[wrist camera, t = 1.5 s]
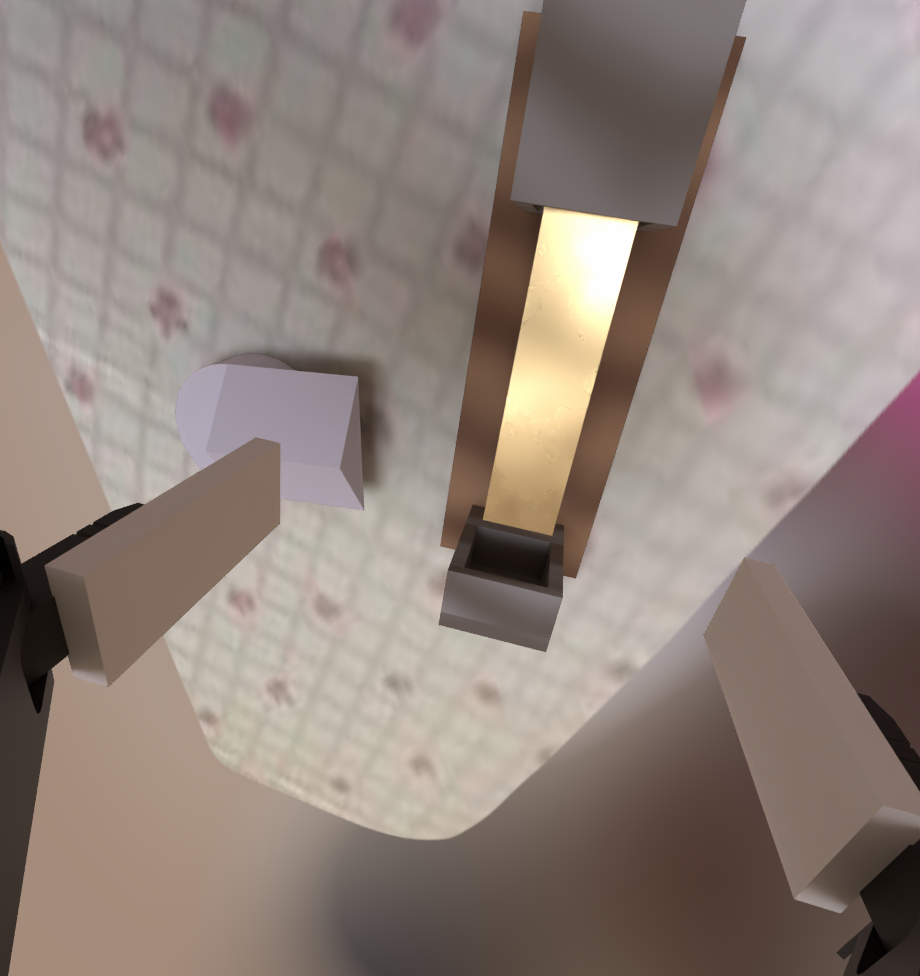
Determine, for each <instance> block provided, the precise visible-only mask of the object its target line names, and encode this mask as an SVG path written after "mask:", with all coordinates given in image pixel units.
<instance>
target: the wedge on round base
mask: <svg viewBox="0 0 920 976" xmlns="http://www.w3.org/2000/svg"><path fill="white" fill-rule="evenodd" d="M175 414H176V423H177V428H178V432H179V435H180V438H181V440H182V442H183V444H184V447H185V448H186V450H187V452H188V453H189V455H190V456H191V458H192V459H193V460H194V462H195V463H196V464H197V465H198V466H199V468H200V469H201V470H203V469H204V468H206V467H208V466H209V465H211V464H212V463H214V462H216V461H217V460H219V459H221V458H222V457H224V456H226V455H227V454H229V453H231V452H232V451H234V450H236V449H237V448H239V447H240V446H242V445H244V444H245V443H247V442H249V441H250V440H252V439H254V438H255V437H258V438H262V439H266V440H270V441H274V442H278V443H280V499H286V500H293V501H301V502H308V503H315V504H322V505H329V506H337V507H344V508H351V509H358V510H364V496H363V473H362V451H361V428H360V406H359V383H358V377H356V376H346V375H336V374H325V373H315V372H304V371H295V370H294V369H292V368H291V367H290V366H288V365H287V364H285V363H283V362H282V361H279V360H277V359H275V358H273V357H269V356H266V355H261V354H243V355H239V356H236V357H233V358H230V359H227V360H224V361H221V362H218V363H215V364H212V365H208V366H205V367H202V368H200V369H199V370H197V371H195V372H194V373H192V374H191V375H190V376H189V377H188V378H187V379H186V380H185V382H184V383H183V385H182V386H181V388H180V391H179V393H178V396H177V401H176V410H175Z"/></svg>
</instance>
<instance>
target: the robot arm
mask: <svg viewBox="0 0 920 976" xmlns="http://www.w3.org/2000/svg"><path fill="white" fill-rule="evenodd" d="M279 524H280V443H278V442H274V441H270V440H266V439H262V438H258V437H255V438H254V439H252V440H250V441H249V442H247V443H245V444H244V445H242V446H240V447H239V448H237V449H236V450H234V451H232V452H231V453H229V454H227V455H226V456H224V457H222V458H221V459H219V460H217V461H216V462H214V463H212V464H211V465H209V466H208V467H206V468H204V469H203V470H201V471H199V472H198V473H196V474H194V475H193V476H191V477H189V478H188V479H186V480H184V481H183V482H181V483H180V484H178V485H176V486H175V487H173V488H171V489H170V490H168V491H166V492H165V493H163V494H161V495H160V496H158V497H156V498H155V499H153V500H151V501H150V502H148V503H147V504H141V503H136V504H133V505H130V506H127V507H123V508H120V509H117V510H114V511H112V512H110V513H108V514H107V515H105V516H103V517H102V518H100V519H98V520H96V521H95V522H94V523H93V525H88V526H86V527H84V528H83V529H81V530H79V531H77V534H76V535H74V534H72V535H70V536H69V537H67V538H65V539H64V540H62V541H60V542H58V543H57V544H55V545H53V546H51V547H50V548H48V549H46V550H45V551H43V552H41V553H39V554H38V555H36V556H35V557H32V558H31V559H29V560H27V561H26V562H24V563H22V564H21V561H20V558H19V554H18V551H17V547H16V544H15V540H14V537H13V536H12V535H10V534H9V533H7V532H6V531H2V530H0V976H8V973H9V966H10V960H11V953H12V947H13V941H14V940H13V939H14V934H15V928H16V921H17V915H18V909H19V902H20V896H21V890H22V883H23V877H24V870H25V864H26V857H27V851H28V845H29V838H30V832H31V826H32V819H33V813H34V807H35V800H36V794H37V787H38V781H39V774H40V768H41V762H42V756H43V749H44V743H45V736H46V730H47V723H48V717H49V711H50V704H51V698H52V692H53V685H54V678H53V673H52V668H53V667H54V666H55V665H57V664H58V663H59V662H60V661H61V660H63V659H64V658H65V657H66V656H67V655H68V658H69V662H70V665H71V669H72V673H73V677H76V678H79V679H82V680H85V681H89V682H92V683H95V684H99V685H102V686H105V687H109V686H110V685H111V684H112V683H113V682H114V681H115V680H116V679H118V677H120V676H121V674H123V673H124V672H125V671H126V670H127V669H128V668H129V667H130V666H131V665H132V664H133V663H134V662H135V661H136V660H137V659H138V658H140V657H141V656H142V655H143V654H144V653H145V652H146V651H147V650H148V649H149V648H150V647H151V646H152V645H153V644H154V643H155V642H156V641H157V640H158V639H159V638H160V637H162V636H163V635H164V634H165V633H166V632H167V631H168V630H169V629H170V628H171V627H172V626H173V625H174V624H175V623H176V622H177V621H178V620H179V619H180V618H181V617H182V616H184V615H185V614H186V613H187V612H188V611H189V610H190V609H191V608H192V607H193V606H194V605H195V604H196V603H197V602H198V601H199V600H200V599H201V598H202V597H203V596H204V595H205V594H207V593H208V592H209V591H210V590H211V589H212V588H213V587H214V586H215V585H216V584H217V583H218V582H219V581H220V580H221V579H222V578H223V577H224V576H225V575H226V574H227V573H229V572H230V571H231V570H232V569H233V568H234V567H235V566H236V565H237V564H238V563H239V562H240V561H241V560H242V559H243V558H244V557H245V556H246V555H247V554H248V553H249V552H251V551H252V550H253V549H254V548H255V547H256V546H257V545H258V544H259V543H260V542H261V541H262V540H263V539H264V538H265V537H266V536H267V535H268V534H269V533H270V532H271V531H273V530H274V529H275V528H276V527H277V526H278V525H279ZM704 638H705V641H706V643H707V646H708V649H709V652H710V655H711V658H712V661H713V664H714V667H715V669H716V673H717V675H718V678H719V681H720V684H721V687H722V690H723V693H724V696H725V699H726V702H727V705H728V708H729V710H730V713H731V716H732V719H733V722H734V725H735V728H736V731H737V734H738V737H739V740H740V743H741V745H742V748H743V751H744V754H745V757H746V760H747V763H748V766H749V769H750V772H751V774H752V777H753V780H754V783H755V786H756V789H757V792H758V795H759V798H760V801H761V804H762V807H763V810H764V812H765V815H766V818H767V821H768V824H769V827H770V830H771V833H772V836H773V838H774V842H775V844H776V847H777V850H778V853H779V856H780V859H781V862H782V865H783V868H784V871H785V873H786V876H787V879H788V882H789V885H790V888H791V891H792V894H793V897H794V899H796V900H799V901H802V902H806V903H809V904H812V905H815V906H819V907H822V908H825V909H828V910H831V911H835V912H838V913H842V912H843V911H844V909H846V908H847V907H848V906H849V905H850V904H851V903H852V902H853V901H854V900H855V899H856V898H857V897H858V896H860V895H861V897H862V899H863V902H864V904H865V906H866V908H867V911H868V913H869V915H870V917H871V920H872V921H871V922H870V923H869V924H868V925H867V926H865V927H864V928H863V929H862V930H861V931H860V932H859V933H857V934H856V935H855V936H854V937H853V938H852V939H851V940H850V941H849V942H847V943H846V944H845V945H844V946H843V947H842V948H841V949H840V950H839V951H838V952H837V954H838V955H840V957H842V958H843V959H845V958H846V957H848V956H849V955H850V954H851V953H852V955H851V957H850V959H849V962H848V964H847V967H846V969H845V972H844V974H843V976H920V757H919V756H918V754H917V753H916V752H915V750H914V749H913V748H910V743H909V741H908V740H907V738H906V737H905V735H904V734H903V732H902V731H901V730H900V728H899V727H898V725H897V724H896V722H895V721H894V719H893V718H892V717H890V716H889V715H888V714H887V713H886V712H885V711H884V710H883V709H882V708H881V707H880V706H879V705H878V704H877V703H876V702H875V701H874V700H873V699H872V698H871V697H870V696H867V695H863V694H859V693H856V692H855V690H854V688H853V687H852V685H851V684H850V682H849V681H848V679H847V678H846V676H845V674H844V673H843V671H842V670H841V668H840V667H839V665H838V664H837V662H836V660H835V659H834V657H833V656H832V654H831V653H830V651H829V649H828V648H827V646H826V645H825V643H824V642H823V640H822V639H821V637H820V635H819V634H818V632H817V631H816V629H815V628H814V626H813V624H812V623H811V621H810V620H809V618H808V617H807V615H806V614H805V612H804V610H803V609H802V607H801V606H800V604H799V603H798V601H797V599H796V598H795V596H794V595H793V593H792V592H791V590H790V589H789V587H788V585H787V584H786V582H785V581H784V579H783V578H782V576H781V575H780V573H779V572H778V570H777V568H776V567H775V566H774V565H772V564H769V563H765V562H761V561H757V560H752V559H749V558H745V557H744V559H743V561H742V563H741V565H740V567H739V569H738V571H737V572H736V574H735V576H734V579H733V580H732V582H731V584H730V586H729V588H728V590H727V591H726V593H725V595H724V597H723V599H722V601H721V603H720V605H719V607H718V608H717V610H716V612H715V614H714V616H713V618H712V620H711V622H710V624H709V626H708V627H707V629H706V631H705V633H704Z"/></svg>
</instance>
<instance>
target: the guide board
mask: <svg viewBox="0 0 920 976" xmlns="http://www.w3.org/2000/svg"><path fill="white" fill-rule="evenodd" d="M745 3H746V0H544V3H543V9H542V13H535V12H526V11H524V12H523V18H522V24H521V31H520V37H519V44H518V50H517V56H516V63H515V69H514V76H513V82H512V89H511V95H510V101H509V108H508V114H507V121H506V127H505V134H504V140H503V146H502V153H501V159H500V166H499V172H498V178H497V185H496V191H495V198H494V204H493V211H492V217H491V223H490V230H489V236H488V243H487V249H486V256H485V262H484V268H483V275H482V281H481V288H480V294H479V301H478V307H477V313H476V320H475V326H474V333H473V339H472V345H471V352H470V358H469V365H468V371H467V378H466V384H465V390H464V397H463V403H462V410H461V416H460V423H459V429H458V435H457V442H456V448H455V455H454V461H453V468H452V474H451V480H450V487H449V493H448V500H447V506H446V512H445V519H444V525H443V532H442V538H441V545H440V546H442V547H446V548H450V549H454V550H455V553H454V555H453V558H452V561H451V563H450V566H449V569H448V573H447V579H446V584H445V590H444V596H443V602H442V608H441V614H440V620H439V625H442V626H446V627H450V628H454V629H458V630H461V631H465V632H469V633H473V634H477V635H481V636H485V637H489V638H493V639H497V640H501V641H504V642H508V643H512V644H516V645H520V646H524V647H528V648H532V649H536V650H540V651H544V652H546V650H547V647H548V644H549V640H550V637H551V634H552V631H553V627H554V624H555V621H556V618H557V614H558V611H559V608H560V605H561V601H562V598H563V575H564V576H568V577H572V578H576V576H577V573H578V569H579V566H580V563H581V560H582V557H583V554H584V550H585V547H586V544H587V541H588V538H589V534H590V531H591V528H592V525H593V522H594V519H595V515H596V512H597V509H598V506H599V503H600V500H601V496H602V493H603V490H604V487H605V484H606V481H607V477H608V474H609V471H610V468H611V465H612V462H613V458H614V455H615V452H616V449H617V446H618V443H619V439H620V436H621V433H622V430H623V427H624V423H625V420H626V417H627V414H628V411H629V408H630V404H631V401H632V398H633V395H634V392H635V389H636V385H637V382H638V379H639V376H640V373H641V370H642V366H643V363H644V360H645V357H646V354H647V351H648V347H649V344H650V341H651V338H652V335H653V332H654V328H655V325H656V322H657V319H658V316H659V312H660V309H661V306H662V303H663V300H664V297H665V293H666V290H667V287H668V284H669V281H670V278H671V274H672V271H673V268H674V265H675V262H676V259H677V255H678V252H679V249H680V246H681V243H682V240H683V236H684V233H685V230H686V227H687V224H688V221H689V217H690V214H691V211H692V208H693V205H694V201H695V198H696V195H697V192H698V189H699V186H700V182H701V179H702V176H703V173H704V170H705V167H706V163H707V160H708V157H709V154H710V151H711V148H712V144H713V141H714V138H715V135H716V132H717V129H718V125H719V122H720V119H721V116H722V113H723V110H724V106H725V103H726V100H727V97H728V94H729V90H730V87H731V84H732V81H733V78H734V75H735V71H736V68H737V65H738V62H739V59H740V56H741V52H742V49H743V46H744V43H745V40H746V37H740V36H735V35H736V32H737V29H738V25H739V22H740V19H741V16H742V12H743V9H744V6H745ZM545 206H546V207H552V208H558V209H565V210H571V211H577V212H583V213H590V214H596V215H602V216H609V217H615V218H621V219H627V220H634V221H639V222H638V226H637V229H636V233H635V237H634V240H633V244H632V247H631V251H630V255H629V258H628V262H627V266H626V269H625V273H624V277H623V280H622V284H621V287H620V291H619V295H618V298H617V302H616V306H615V309H614V313H613V316H612V320H611V324H610V327H609V331H608V335H607V338H606V342H605V346H604V349H603V353H602V356H601V360H600V364H599V367H598V371H597V375H596V378H595V382H594V385H593V389H592V393H591V396H590V400H589V404H588V407H587V411H586V415H585V418H584V422H583V425H582V429H581V433H580V436H579V440H578V444H577V447H576V451H575V455H574V458H573V462H572V465H571V469H570V473H569V476H568V480H567V484H566V487H565V491H564V494H563V498H562V502H561V505H560V509H559V513H558V516H557V520H556V524H555V527H554V531H553V534H552V536H551V535H546V534H542V533H538V532H533V531H529V530H525V529H520V528H516V527H512V526H507V525H503V524H499V523H494V522H490V521H486V520H483V517H484V512H485V507H486V502H487V496H488V491H489V486H490V481H491V476H492V471H493V466H494V461H495V456H496V451H497V446H498V441H499V435H500V430H501V425H502V420H503V415H504V410H505V405H506V400H507V395H508V390H509V385H510V380H511V374H512V369H513V364H514V359H515V354H516V349H517V344H518V339H519V334H520V329H521V324H522V319H523V314H524V308H525V303H526V298H527V293H528V288H529V283H530V278H531V273H532V268H533V263H534V258H535V253H536V247H537V242H538V237H539V232H540V227H541V222H542V217H543V212H544V207H545Z"/></svg>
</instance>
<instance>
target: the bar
mask: <svg viewBox="0 0 920 976" xmlns="http://www.w3.org/2000/svg"><path fill="white" fill-rule="evenodd" d="M638 222H639V221H634V220H627V219H621V218H615V217H609V216H602V215H596V214H590V213H583V212H577V211H571V210H565V209H558V208H552V207H546V206H545V207H544V212H543V217H542V222H541V227H540V232H539V237H538V242H537V247H536V253H535V258H534V263H533V268H532V273H531V278H530V283H529V288H528V293H527V298H526V303H525V308H524V314H523V319H522V324H521V329H520V334H519V339H518V344H517V349H516V354H515V359H514V364H513V369H512V374H511V380H510V385H509V390H508V395H507V400H506V405H505V410H504V415H503V420H502V425H501V430H500V435H499V441H498V446H497V451H496V456H495V461H494V466H493V471H492V476H491V481H490V486H489V491H488V496H487V502H486V507H485V512H484V517H483V520H486V521H490V522H494V523H499V524H503V525H507V526H512V527H516V528H520V529H525V530H529V531H533V532H538V533H542V534H546V535H551V536H552V534H553V531H554V527H555V524H556V520H557V516H558V513H559V509H560V505H561V502H562V498H563V494H564V491H565V487H566V484H567V480H568V476H569V473H570V469H571V465H572V462H573V458H574V455H575V451H576V447H577V444H578V440H579V436H580V433H581V429H582V425H583V422H584V418H585V415H586V411H587V407H588V404H589V400H590V396H591V393H592V389H593V385H594V382H595V378H596V375H597V371H598V367H599V364H600V360H601V356H602V353H603V349H604V346H605V342H606V338H607V335H608V331H609V327H610V324H611V320H612V316H613V313H614V309H615V306H616V302H617V298H618V295H619V291H620V287H621V284H622V280H623V277H624V273H625V269H626V266H627V262H628V258H629V255H630V251H631V247H632V244H633V240H634V237H635V233H636V229H637V226H638Z"/></svg>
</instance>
